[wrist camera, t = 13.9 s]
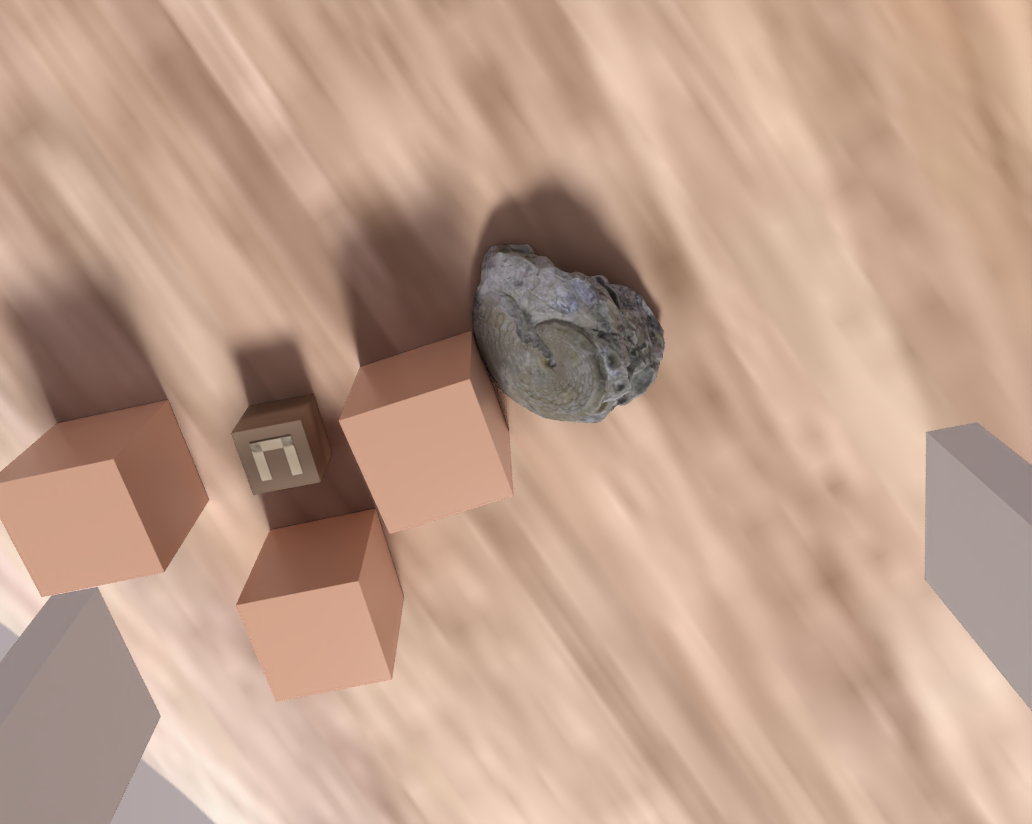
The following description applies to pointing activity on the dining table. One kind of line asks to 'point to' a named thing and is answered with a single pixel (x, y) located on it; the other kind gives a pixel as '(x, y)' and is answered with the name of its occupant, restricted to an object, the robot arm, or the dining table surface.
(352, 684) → the cover mid
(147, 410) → the salmon pink box
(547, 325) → the fossilized seashell
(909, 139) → the dining table surface
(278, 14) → the dining table surface
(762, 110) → the dining table surface
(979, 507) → the robot arm
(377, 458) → the peach colored cube
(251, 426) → the letter cube
